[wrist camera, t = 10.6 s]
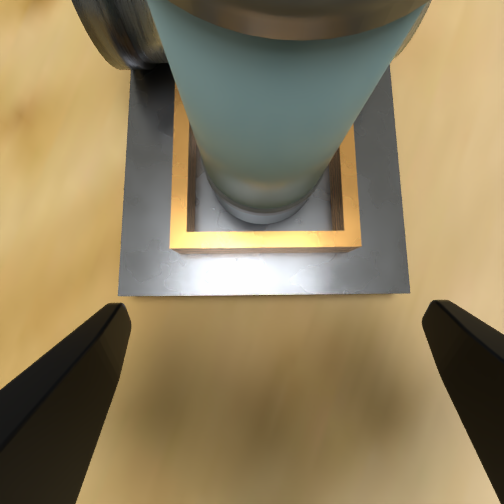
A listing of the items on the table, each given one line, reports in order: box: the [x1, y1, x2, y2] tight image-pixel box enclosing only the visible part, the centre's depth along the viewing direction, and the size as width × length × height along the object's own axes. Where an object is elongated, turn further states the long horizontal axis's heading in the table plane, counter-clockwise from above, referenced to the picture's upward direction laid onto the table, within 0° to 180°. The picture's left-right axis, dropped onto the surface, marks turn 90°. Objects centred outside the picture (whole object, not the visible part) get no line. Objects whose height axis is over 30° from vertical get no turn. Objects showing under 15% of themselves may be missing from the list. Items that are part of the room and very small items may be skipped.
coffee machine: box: [72, 0, 431, 296], centre depth 14 cm, size 20×16×10 cm
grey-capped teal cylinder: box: [147, 0, 429, 224], centre depth 10 cm, size 6×6×13 cm
